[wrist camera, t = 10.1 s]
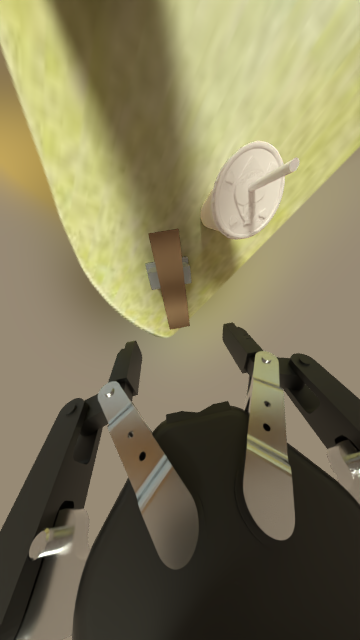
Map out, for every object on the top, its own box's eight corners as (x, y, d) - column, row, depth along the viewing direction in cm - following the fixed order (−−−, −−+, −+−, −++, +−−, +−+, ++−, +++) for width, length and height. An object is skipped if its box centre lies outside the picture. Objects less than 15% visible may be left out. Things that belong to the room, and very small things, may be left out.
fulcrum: (145, 263, 22) (142, 269, 18) (186, 256, 22) (193, 260, 18) (151, 284, 24) (149, 294, 20) (188, 277, 24) (194, 286, 20)
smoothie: (234, 178, 18) (377, 66, 6) (232, 233, 21) (321, 229, 10) (188, 189, 18) (244, 97, 6) (194, 242, 21) (237, 249, 10)
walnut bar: (150, 234, 16) (148, 233, 13) (174, 230, 16) (178, 228, 13) (168, 317, 22) (169, 329, 19) (185, 314, 22) (189, 325, 20)
